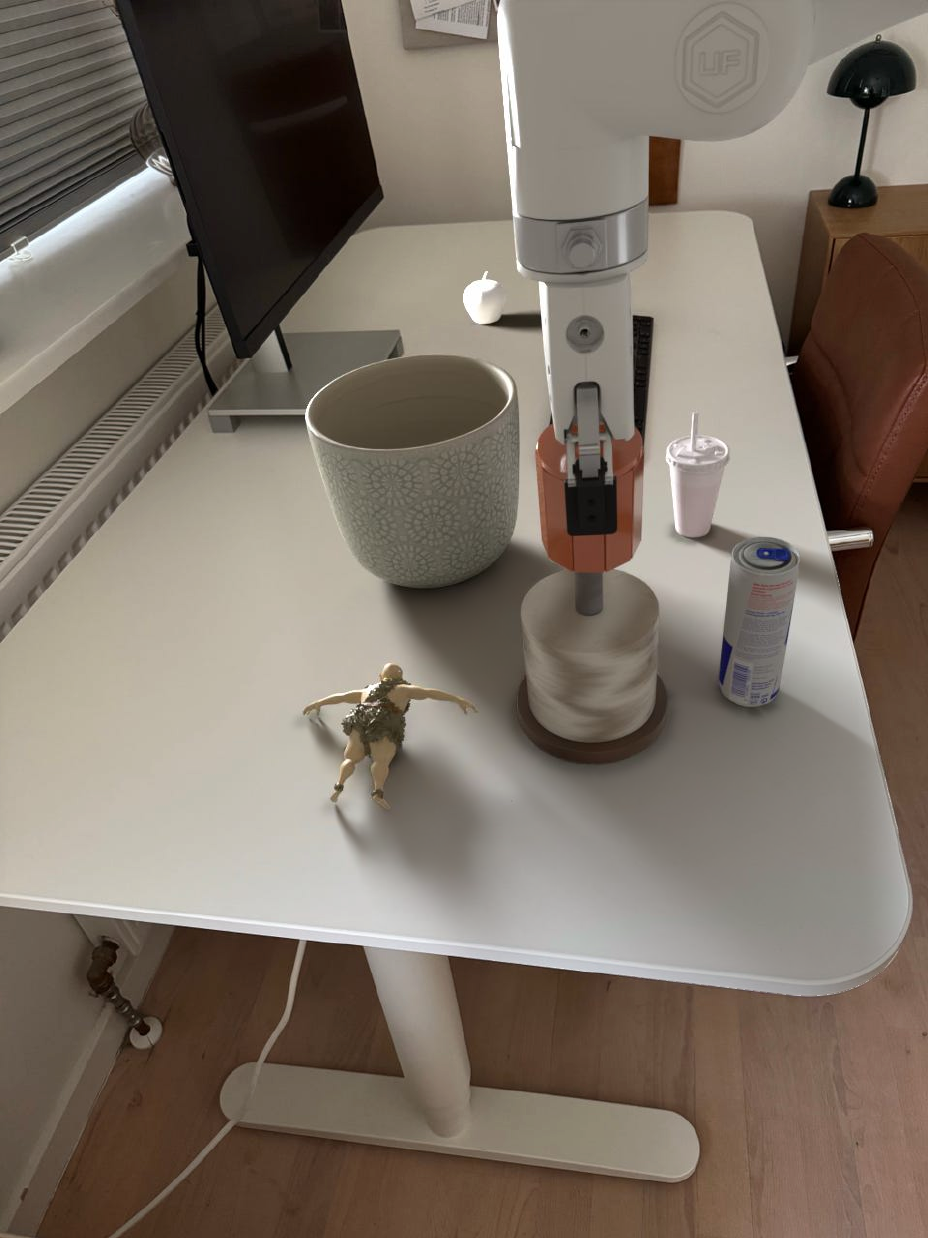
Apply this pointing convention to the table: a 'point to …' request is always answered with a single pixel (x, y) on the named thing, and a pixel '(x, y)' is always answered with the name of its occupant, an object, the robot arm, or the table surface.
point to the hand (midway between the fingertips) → (590, 492)
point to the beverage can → (757, 619)
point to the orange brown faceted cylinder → (551, 473)
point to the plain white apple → (485, 300)
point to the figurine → (379, 723)
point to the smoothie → (696, 479)
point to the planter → (420, 465)
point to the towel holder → (591, 667)
